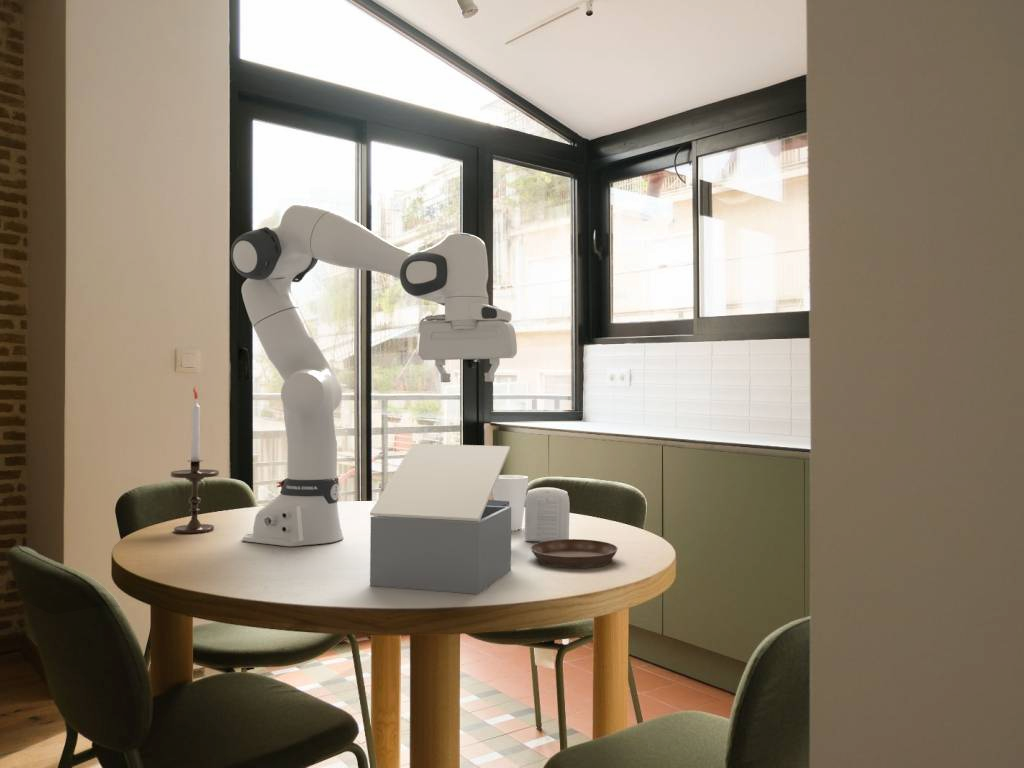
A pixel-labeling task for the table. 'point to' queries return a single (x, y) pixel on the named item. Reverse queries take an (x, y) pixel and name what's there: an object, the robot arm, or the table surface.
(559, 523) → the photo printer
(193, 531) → the candlestick
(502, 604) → the table surface
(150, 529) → the table surface
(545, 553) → the plant saucer
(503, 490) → the foam cup
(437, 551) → the carton
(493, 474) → the lid flap
